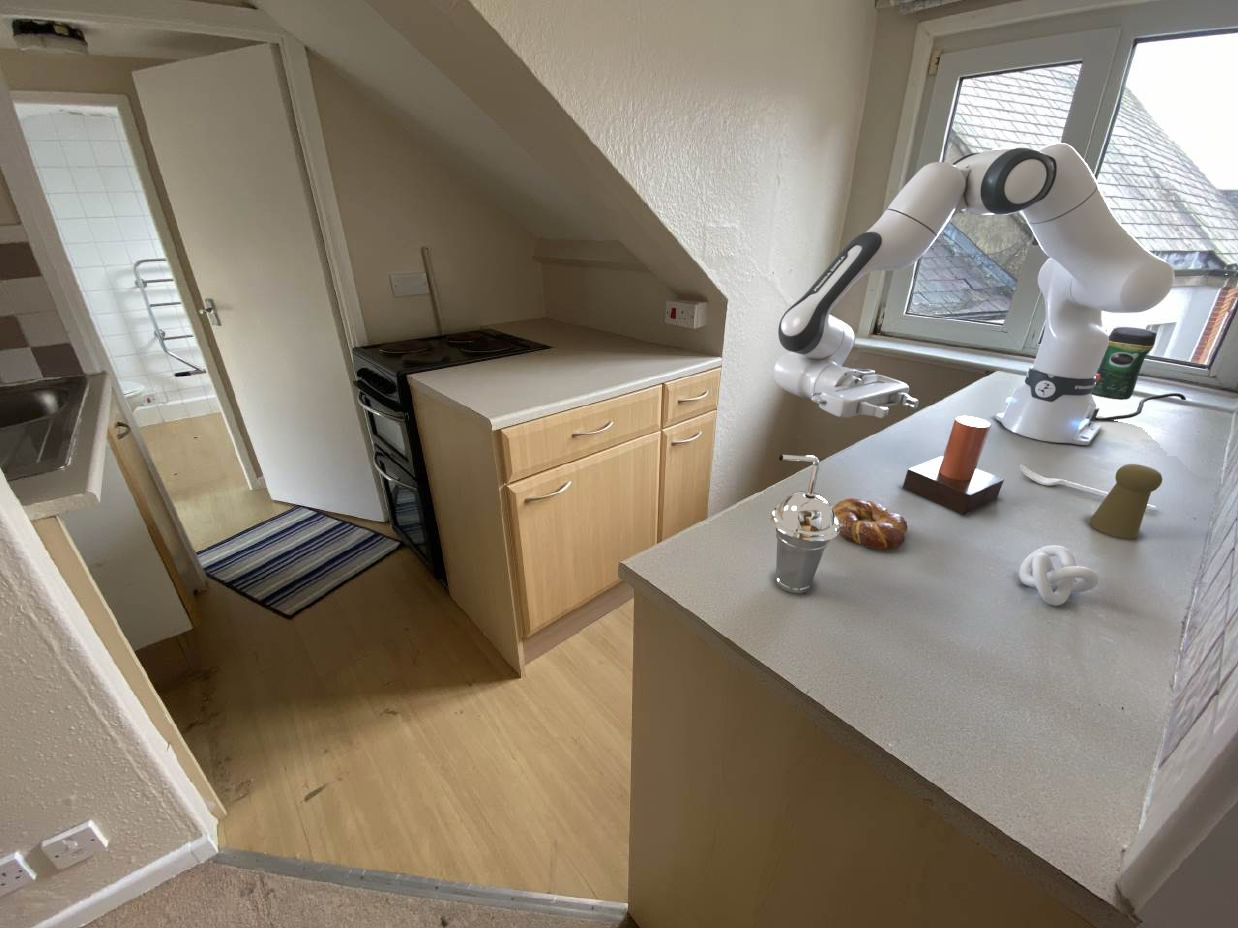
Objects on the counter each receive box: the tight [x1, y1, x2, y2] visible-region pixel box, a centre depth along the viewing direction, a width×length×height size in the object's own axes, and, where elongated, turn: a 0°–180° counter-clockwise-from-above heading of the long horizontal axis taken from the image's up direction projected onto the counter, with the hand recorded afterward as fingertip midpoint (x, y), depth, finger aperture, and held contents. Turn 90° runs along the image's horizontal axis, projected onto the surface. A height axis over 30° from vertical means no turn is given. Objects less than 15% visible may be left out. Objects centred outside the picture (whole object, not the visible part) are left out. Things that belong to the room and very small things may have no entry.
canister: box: [939, 415, 992, 481], centre depth 91 cm, size 5×5×10 cm
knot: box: [1018, 544, 1100, 607], centre depth 70 cm, size 8×8×6 cm
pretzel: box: [832, 497, 908, 550], centre depth 83 cm, size 12×11×4 cm
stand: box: [902, 455, 1005, 516], centre depth 94 cm, size 11×11×4 cm
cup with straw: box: [770, 454, 840, 595], centre depth 68 cm, size 8×9×20 cm
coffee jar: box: [1091, 326, 1157, 401], centre depth 142 cm, size 10×8×19 cm
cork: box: [1088, 463, 1163, 540], centre depth 83 cm, size 6×6×11 cm
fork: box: [1018, 463, 1157, 511], centre depth 96 cm, size 3×20×2 cm, turn 47°
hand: (901, 409), depth 99 cm, fingers open, 8 cm apart
